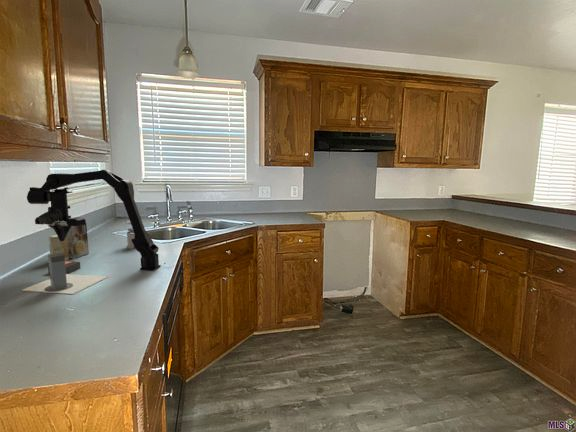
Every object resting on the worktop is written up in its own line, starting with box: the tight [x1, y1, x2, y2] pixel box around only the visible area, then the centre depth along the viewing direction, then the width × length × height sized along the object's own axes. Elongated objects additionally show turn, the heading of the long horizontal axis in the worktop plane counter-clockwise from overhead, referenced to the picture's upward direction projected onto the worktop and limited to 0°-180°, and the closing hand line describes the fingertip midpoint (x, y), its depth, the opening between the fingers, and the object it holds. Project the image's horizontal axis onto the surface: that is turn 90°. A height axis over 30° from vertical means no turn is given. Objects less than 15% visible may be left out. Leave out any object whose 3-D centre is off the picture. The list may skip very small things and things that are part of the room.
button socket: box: [47, 260, 81, 274], centre depth 138 cm, size 8×8×3 cm
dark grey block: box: [47, 253, 67, 290], centre depth 118 cm, size 4×4×12 cm
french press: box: [125, 220, 145, 249], centre depth 181 cm, size 10×12×25 cm
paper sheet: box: [21, 273, 108, 295], centre depth 124 cm, size 20×18×1 cm
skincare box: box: [48, 234, 70, 261], centre depth 151 cm, size 6×4×12 cm
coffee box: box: [67, 223, 90, 259], centre depth 160 cm, size 9×6×16 cm
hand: (62, 241), depth 136 cm, fingers closed
